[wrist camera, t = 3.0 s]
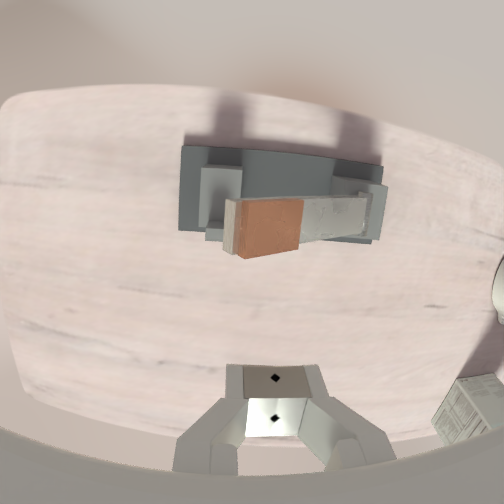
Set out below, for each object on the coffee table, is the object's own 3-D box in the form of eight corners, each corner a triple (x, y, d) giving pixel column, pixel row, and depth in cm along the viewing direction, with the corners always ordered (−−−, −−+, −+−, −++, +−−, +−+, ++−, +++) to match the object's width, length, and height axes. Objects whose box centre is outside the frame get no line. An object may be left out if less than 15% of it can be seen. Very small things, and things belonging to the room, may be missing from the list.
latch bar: (363, 191, 31) (381, 195, 30) (357, 231, 33) (374, 237, 31) (224, 192, 21) (243, 198, 20) (220, 254, 23) (238, 264, 21)
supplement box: (429, 422, 55) (459, 479, 38) (455, 377, 50) (497, 436, 34) (468, 414, 56) (500, 462, 39) (494, 371, 51) (534, 420, 35)
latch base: (380, 165, 37) (415, 174, 28) (368, 241, 40) (398, 267, 31) (183, 145, 35) (166, 146, 27) (179, 228, 39) (163, 252, 30)
